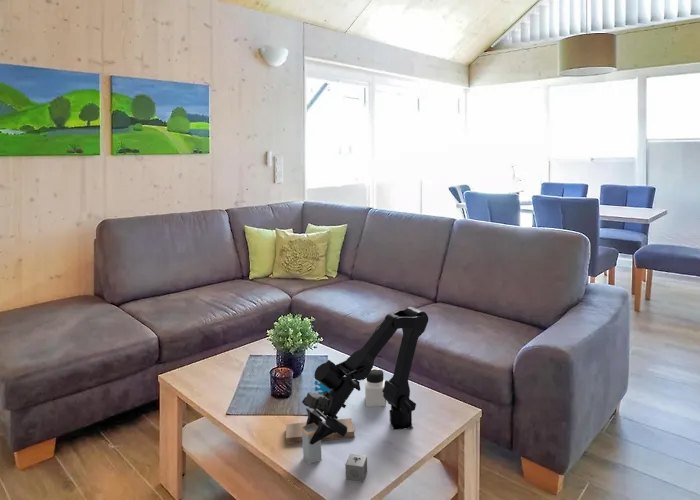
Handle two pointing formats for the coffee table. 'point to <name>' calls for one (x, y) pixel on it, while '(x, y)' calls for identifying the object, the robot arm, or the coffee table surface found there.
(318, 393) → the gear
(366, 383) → the medicine bottle
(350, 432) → the wooden socket base
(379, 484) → the coffee table surface
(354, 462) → the grey marked cube
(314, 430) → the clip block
